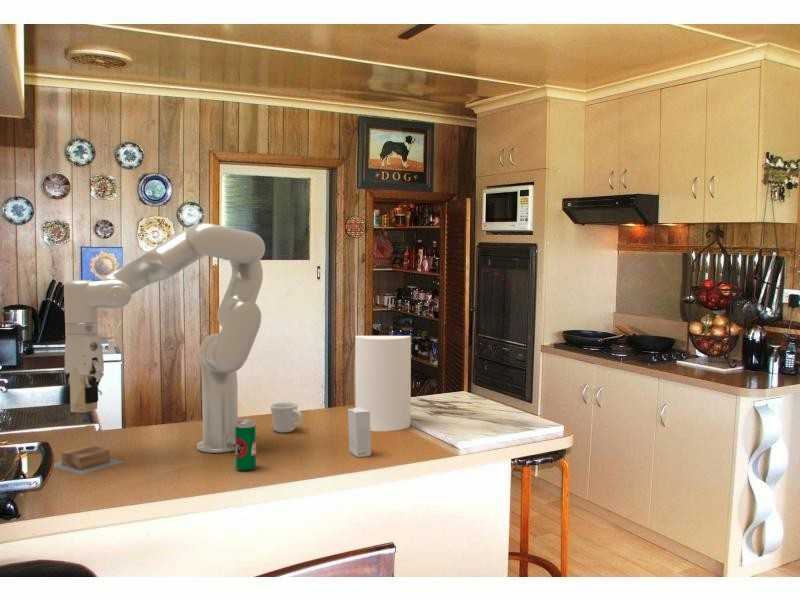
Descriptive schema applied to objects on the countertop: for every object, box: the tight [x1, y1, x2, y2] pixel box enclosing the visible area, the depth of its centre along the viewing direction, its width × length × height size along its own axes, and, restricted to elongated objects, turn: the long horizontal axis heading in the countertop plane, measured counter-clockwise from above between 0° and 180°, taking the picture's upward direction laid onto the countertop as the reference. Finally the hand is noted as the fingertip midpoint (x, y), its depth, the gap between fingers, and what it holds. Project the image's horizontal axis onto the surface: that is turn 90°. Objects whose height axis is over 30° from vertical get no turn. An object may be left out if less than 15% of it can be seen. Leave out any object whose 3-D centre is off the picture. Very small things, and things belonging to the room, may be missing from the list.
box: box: [69, 368, 98, 413], centre depth 177 cm, size 5×4×11 cm
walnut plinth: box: [60, 444, 111, 470], centre depth 178 cm, size 8×8×3 cm
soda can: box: [234, 419, 257, 472], centre depth 176 cm, size 5×5×12 cm
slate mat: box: [53, 458, 124, 475], centre depth 178 cm, size 14×12×1 cm
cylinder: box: [354, 335, 412, 432], centre depth 220 cm, size 17×17×28 cm
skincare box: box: [347, 407, 372, 458], centre depth 189 cm, size 6×4×12 cm
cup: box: [270, 401, 303, 434], centre depth 212 cm, size 11×8×8 cm
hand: (84, 400), depth 177 cm, fingers closed on box, 5 cm apart
